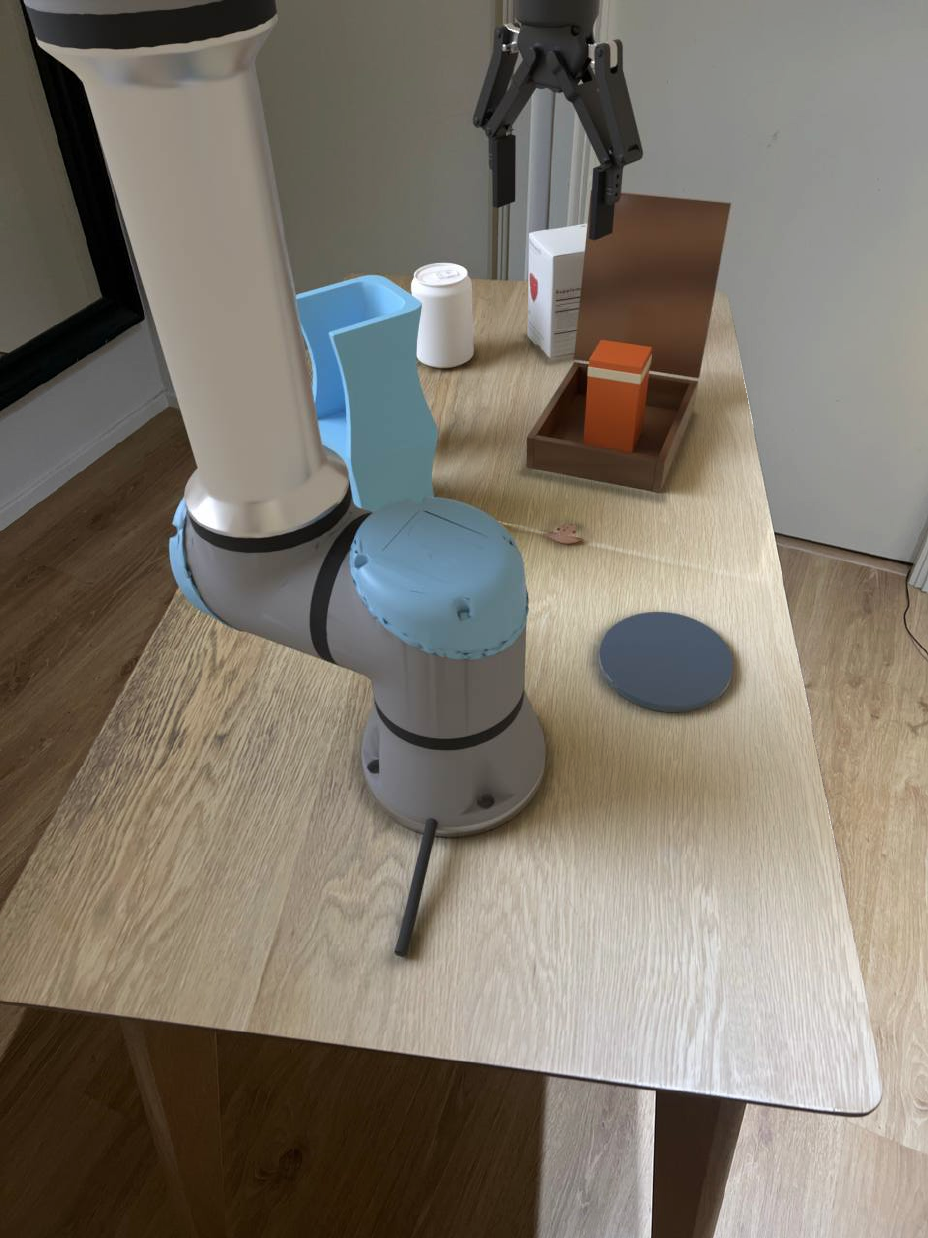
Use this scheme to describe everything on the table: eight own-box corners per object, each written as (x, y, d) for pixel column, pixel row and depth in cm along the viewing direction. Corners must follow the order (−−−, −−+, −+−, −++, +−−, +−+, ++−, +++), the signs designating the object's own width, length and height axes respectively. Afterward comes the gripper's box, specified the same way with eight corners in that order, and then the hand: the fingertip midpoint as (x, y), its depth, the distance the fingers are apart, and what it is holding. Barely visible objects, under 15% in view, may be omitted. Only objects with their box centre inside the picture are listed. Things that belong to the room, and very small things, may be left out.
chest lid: (730, 203, 97) (737, 196, 101) (590, 189, 102) (602, 183, 106) (698, 378, 108) (705, 365, 112) (573, 359, 113) (584, 347, 117)
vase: (324, 512, 100) (285, 297, 83) (400, 483, 104) (378, 270, 86) (364, 558, 94) (332, 336, 77) (444, 525, 97) (429, 306, 80)
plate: (718, 727, 76) (720, 721, 75) (583, 691, 79) (583, 685, 79) (741, 634, 84) (743, 628, 83) (617, 605, 87) (618, 599, 87)
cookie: (552, 520, 97) (553, 513, 97) (589, 527, 96) (589, 519, 96) (543, 541, 95) (543, 534, 94) (580, 548, 94) (581, 541, 93)
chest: (659, 499, 100) (664, 462, 96) (526, 473, 104) (526, 437, 101) (692, 415, 112) (698, 380, 109) (572, 395, 117) (574, 361, 113)
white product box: (525, 335, 129) (526, 230, 119) (582, 325, 131) (588, 221, 121) (548, 364, 123) (551, 255, 113) (607, 352, 125) (616, 245, 114)
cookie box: (632, 452, 105) (642, 367, 97) (582, 443, 107) (588, 359, 99) (642, 430, 108) (652, 346, 101) (594, 422, 110) (600, 339, 102)
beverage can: (408, 351, 127) (400, 268, 119) (459, 339, 129) (455, 256, 121) (430, 376, 122) (424, 291, 113) (483, 362, 124) (481, 278, 116)
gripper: (702, -27, 72) (670, 239, 87) (489, -50, 86) (492, 183, 100) (644, -13, 69) (620, 262, 83) (431, -40, 82) (443, 200, 97)
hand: (550, 219), depth 92 cm, fingers open, 13 cm apart
